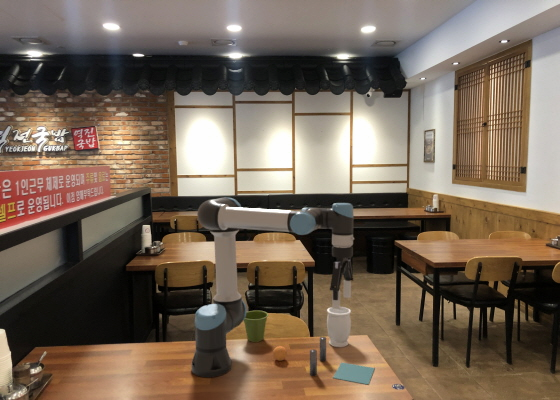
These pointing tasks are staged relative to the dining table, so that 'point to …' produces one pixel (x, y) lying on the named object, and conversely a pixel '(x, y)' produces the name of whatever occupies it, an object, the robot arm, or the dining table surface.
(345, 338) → the jar
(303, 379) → the dining table surface
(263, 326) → the plant pot
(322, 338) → the post
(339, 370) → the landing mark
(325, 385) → the dining table surface
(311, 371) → the post
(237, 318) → the robot arm
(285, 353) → the ball
